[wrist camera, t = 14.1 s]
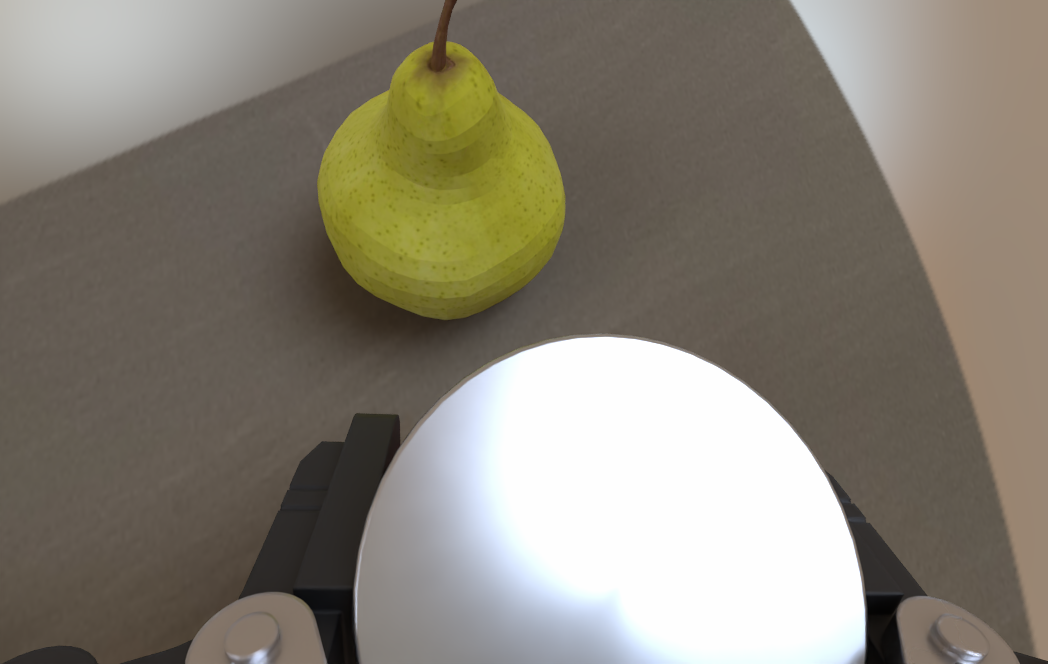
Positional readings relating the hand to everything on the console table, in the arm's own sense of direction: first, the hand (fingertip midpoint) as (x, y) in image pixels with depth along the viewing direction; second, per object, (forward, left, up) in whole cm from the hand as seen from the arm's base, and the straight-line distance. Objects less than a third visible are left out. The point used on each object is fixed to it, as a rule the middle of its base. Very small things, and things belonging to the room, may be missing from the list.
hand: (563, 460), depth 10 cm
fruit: (+6, -6, -8) cm, 12 cm away
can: (-1, +1, -6) cm, 7 cm away
